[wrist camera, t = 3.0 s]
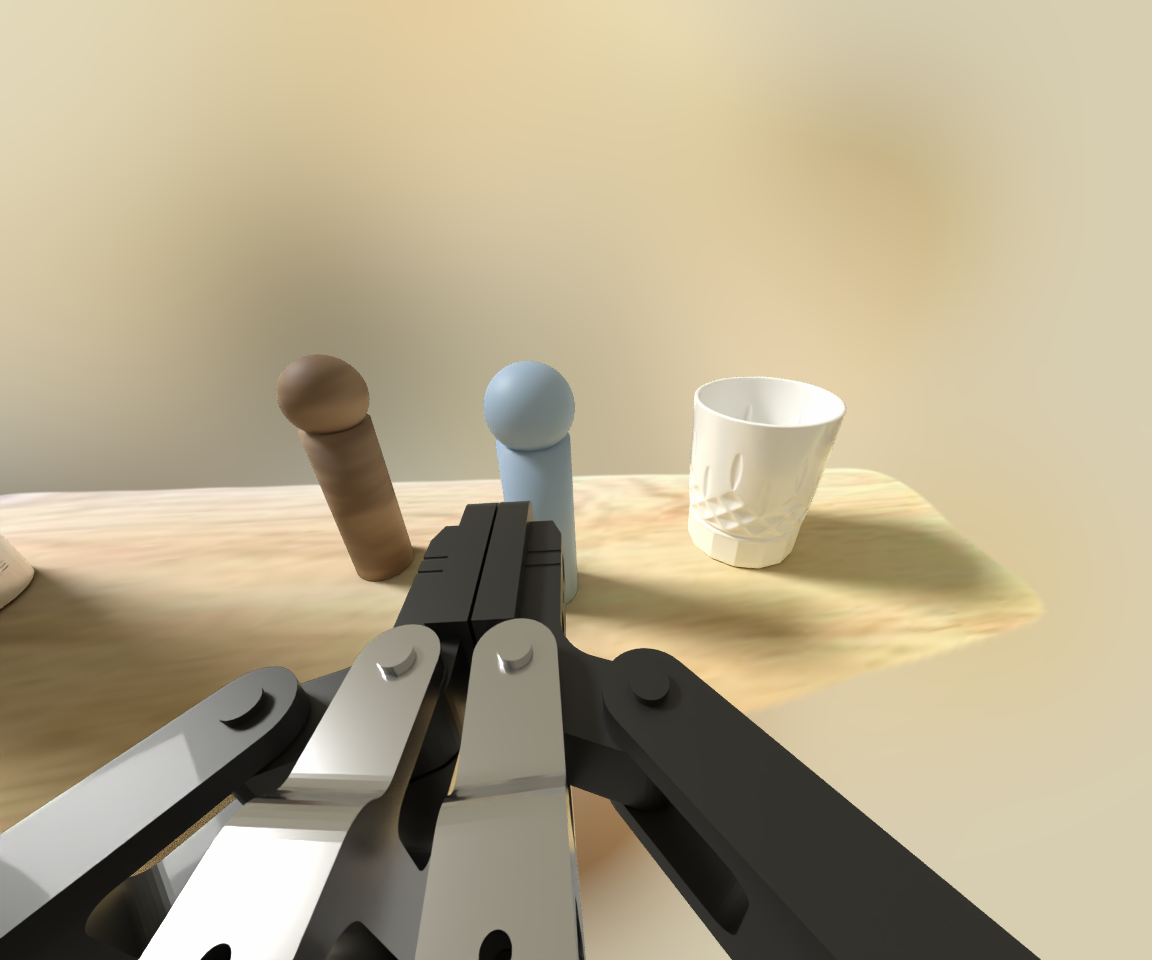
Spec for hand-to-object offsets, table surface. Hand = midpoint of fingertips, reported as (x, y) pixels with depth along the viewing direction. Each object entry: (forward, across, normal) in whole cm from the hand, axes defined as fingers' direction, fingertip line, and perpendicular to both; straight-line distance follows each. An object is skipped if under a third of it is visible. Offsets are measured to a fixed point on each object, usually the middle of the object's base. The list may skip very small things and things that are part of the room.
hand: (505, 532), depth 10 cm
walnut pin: (+13, +11, +12) cm, 21 cm away
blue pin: (+10, 0, +12) cm, 16 cm away
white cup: (+14, -13, +13) cm, 23 cm away
